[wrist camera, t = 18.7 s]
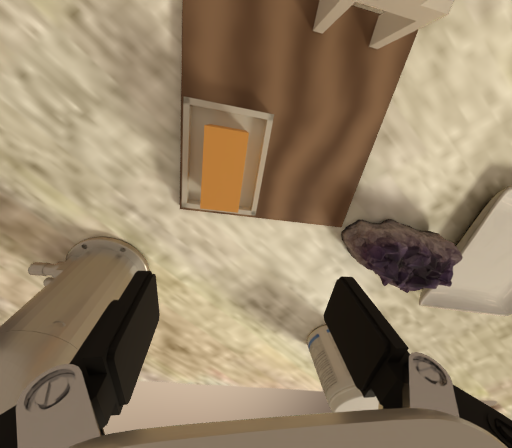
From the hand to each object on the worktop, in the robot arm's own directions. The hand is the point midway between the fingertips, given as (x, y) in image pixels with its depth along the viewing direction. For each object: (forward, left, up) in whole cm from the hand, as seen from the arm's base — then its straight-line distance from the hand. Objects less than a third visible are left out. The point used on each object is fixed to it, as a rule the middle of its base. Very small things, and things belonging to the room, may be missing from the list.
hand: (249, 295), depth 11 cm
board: (+5, +8, -23) cm, 25 cm away
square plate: (+56, -8, -24) cm, 62 cm away
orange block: (-2, +3, -22) cm, 22 cm away
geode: (+30, -9, -24) cm, 39 cm away
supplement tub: (+26, -35, -24) cm, 50 cm away
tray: (-2, +3, -22) cm, 23 cm away
